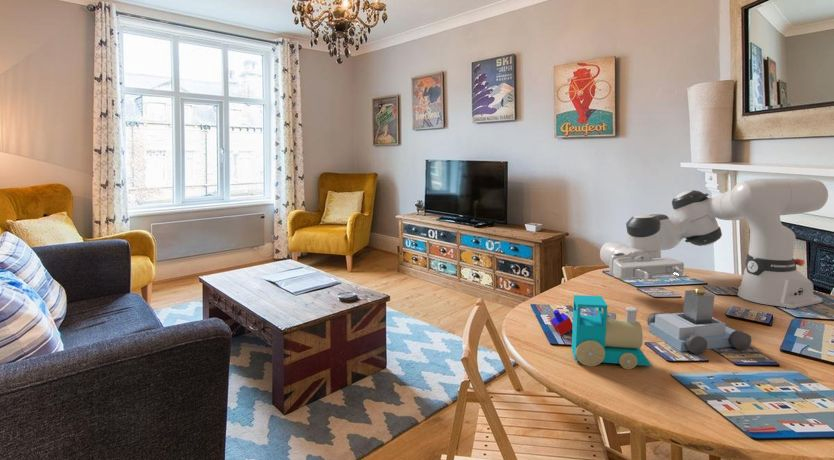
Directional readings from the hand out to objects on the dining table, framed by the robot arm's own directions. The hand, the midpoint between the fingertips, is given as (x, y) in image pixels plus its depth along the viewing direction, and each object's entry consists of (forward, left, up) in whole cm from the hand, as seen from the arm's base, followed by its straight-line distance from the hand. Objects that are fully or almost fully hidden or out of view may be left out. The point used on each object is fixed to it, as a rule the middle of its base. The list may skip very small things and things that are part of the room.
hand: (665, 275), depth 123 cm
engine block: (-1, +12, -11) cm, 16 cm away
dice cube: (+20, +4, -14) cm, 25 cm away
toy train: (+28, +19, -14) cm, 36 cm away
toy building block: (+31, +2, -14) cm, 34 cm away
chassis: (-1, +12, -14) cm, 18 cm away
